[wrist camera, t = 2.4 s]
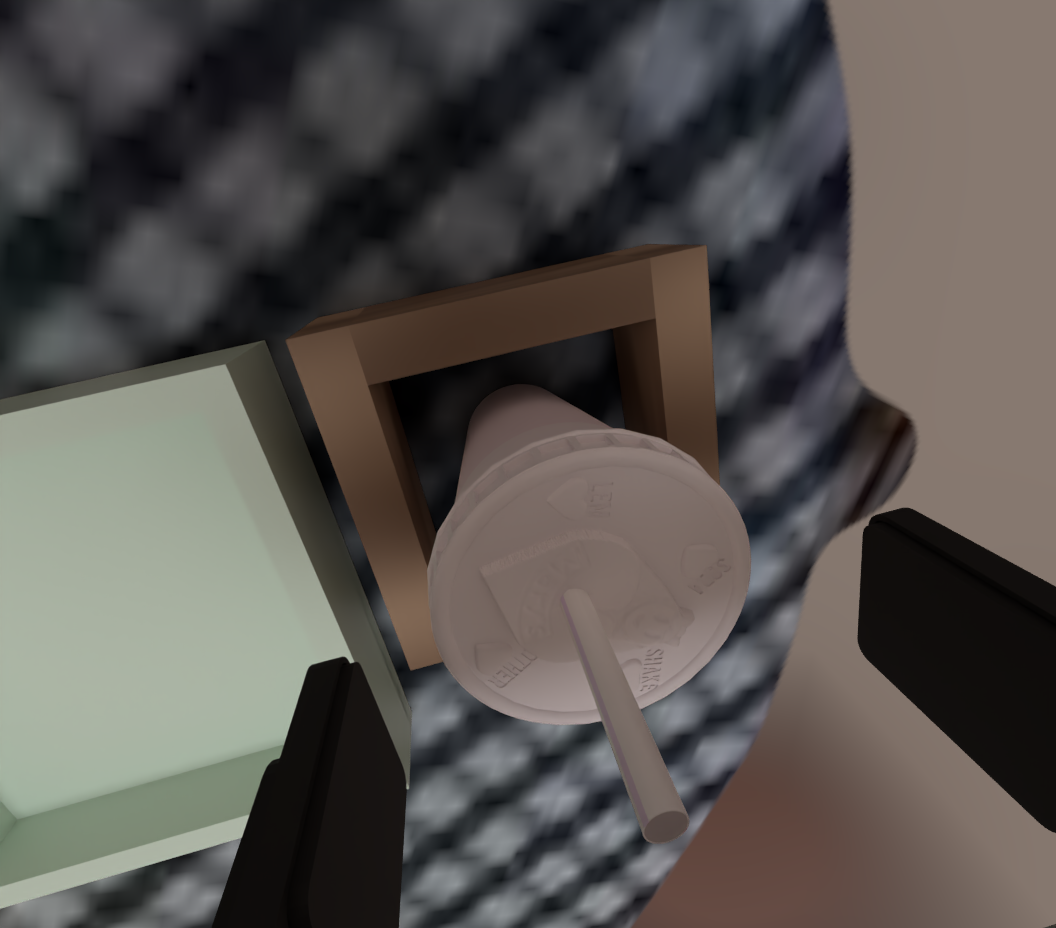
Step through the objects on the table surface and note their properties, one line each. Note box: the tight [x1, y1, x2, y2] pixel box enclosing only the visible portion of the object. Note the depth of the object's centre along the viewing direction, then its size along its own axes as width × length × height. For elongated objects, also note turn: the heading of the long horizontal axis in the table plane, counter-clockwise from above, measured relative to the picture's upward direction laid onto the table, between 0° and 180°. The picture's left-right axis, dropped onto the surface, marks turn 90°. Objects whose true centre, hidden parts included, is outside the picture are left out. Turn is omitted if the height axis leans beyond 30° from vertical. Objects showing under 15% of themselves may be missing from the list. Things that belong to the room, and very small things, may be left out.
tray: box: [0, 340, 412, 908], centre depth 17 cm, size 16×16×4 cm
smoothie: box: [427, 384, 751, 844], centre depth 13 cm, size 6×6×14 cm
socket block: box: [285, 244, 720, 670], centre depth 17 cm, size 11×11×4 cm
